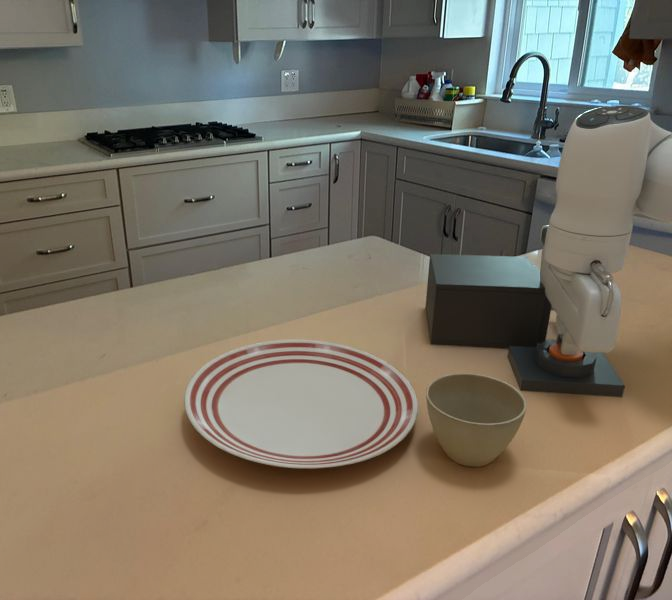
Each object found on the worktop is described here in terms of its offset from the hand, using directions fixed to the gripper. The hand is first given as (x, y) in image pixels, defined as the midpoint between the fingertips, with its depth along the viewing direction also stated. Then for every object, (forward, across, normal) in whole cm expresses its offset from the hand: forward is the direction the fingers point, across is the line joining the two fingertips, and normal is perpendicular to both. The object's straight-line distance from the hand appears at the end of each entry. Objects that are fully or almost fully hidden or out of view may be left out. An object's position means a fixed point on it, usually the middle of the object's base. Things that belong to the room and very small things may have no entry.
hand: (565, 350), depth 79 cm
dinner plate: (+4, -13, +33) cm, 36 cm away
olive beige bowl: (+4, -18, +14) cm, 23 cm away
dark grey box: (+4, +13, +9) cm, 16 cm away
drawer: (+3, +13, +5) cm, 14 cm away
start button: (+2, 0, 0) cm, 2 cm away
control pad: (+4, 0, 0) cm, 4 cm away
